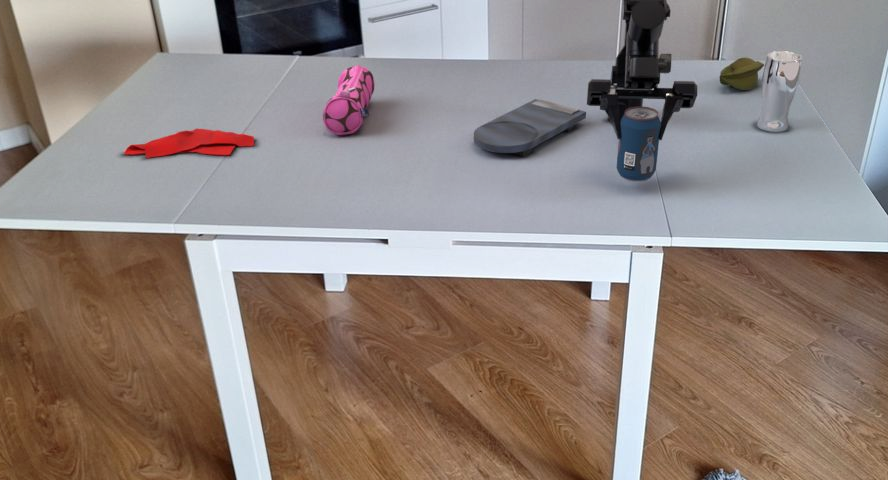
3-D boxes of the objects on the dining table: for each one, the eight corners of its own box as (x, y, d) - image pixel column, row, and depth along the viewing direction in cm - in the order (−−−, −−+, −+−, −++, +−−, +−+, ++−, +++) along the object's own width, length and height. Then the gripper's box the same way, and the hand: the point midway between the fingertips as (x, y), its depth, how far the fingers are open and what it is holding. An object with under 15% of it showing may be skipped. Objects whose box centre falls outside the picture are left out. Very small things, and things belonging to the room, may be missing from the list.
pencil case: (370, 137, 188) (367, 91, 183) (324, 138, 188) (319, 92, 183) (379, 101, 206) (376, 58, 201) (337, 102, 207) (333, 59, 201)
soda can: (626, 163, 167) (631, 102, 161) (661, 172, 163) (668, 109, 157) (609, 177, 162) (614, 114, 156) (645, 186, 159) (651, 122, 152)
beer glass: (749, 121, 190) (760, 51, 182) (781, 119, 190) (794, 49, 183) (762, 133, 184) (774, 62, 176) (795, 132, 185) (809, 60, 177)
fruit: (771, 94, 204) (776, 65, 200) (718, 95, 204) (722, 67, 200) (756, 77, 213) (761, 50, 210) (705, 78, 214) (709, 51, 210)
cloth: (261, 130, 193) (260, 120, 192) (248, 156, 181) (247, 146, 180) (141, 132, 194) (139, 122, 193) (120, 158, 182) (118, 148, 181)
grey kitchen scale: (534, 111, 198) (535, 97, 196) (585, 125, 191) (586, 110, 189) (460, 149, 181) (460, 134, 180) (513, 165, 174) (513, 149, 172)
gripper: (591, 34, 155) (587, 119, 151) (703, 36, 152) (702, 122, 149) (588, 63, 165) (584, 143, 162) (693, 65, 163) (691, 147, 159)
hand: (639, 138), depth 158 cm, fingers closed on soda can, 7 cm apart
